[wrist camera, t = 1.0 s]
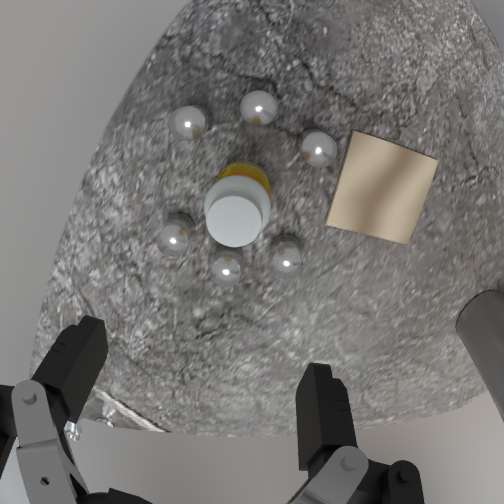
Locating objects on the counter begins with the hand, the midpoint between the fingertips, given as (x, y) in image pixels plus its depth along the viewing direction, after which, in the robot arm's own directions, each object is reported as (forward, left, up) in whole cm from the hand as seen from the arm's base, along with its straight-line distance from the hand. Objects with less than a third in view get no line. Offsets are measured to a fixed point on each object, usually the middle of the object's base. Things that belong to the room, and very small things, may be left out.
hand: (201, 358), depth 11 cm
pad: (-14, -3, -22) cm, 26 cm away
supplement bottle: (0, 0, -22) cm, 22 cm away
